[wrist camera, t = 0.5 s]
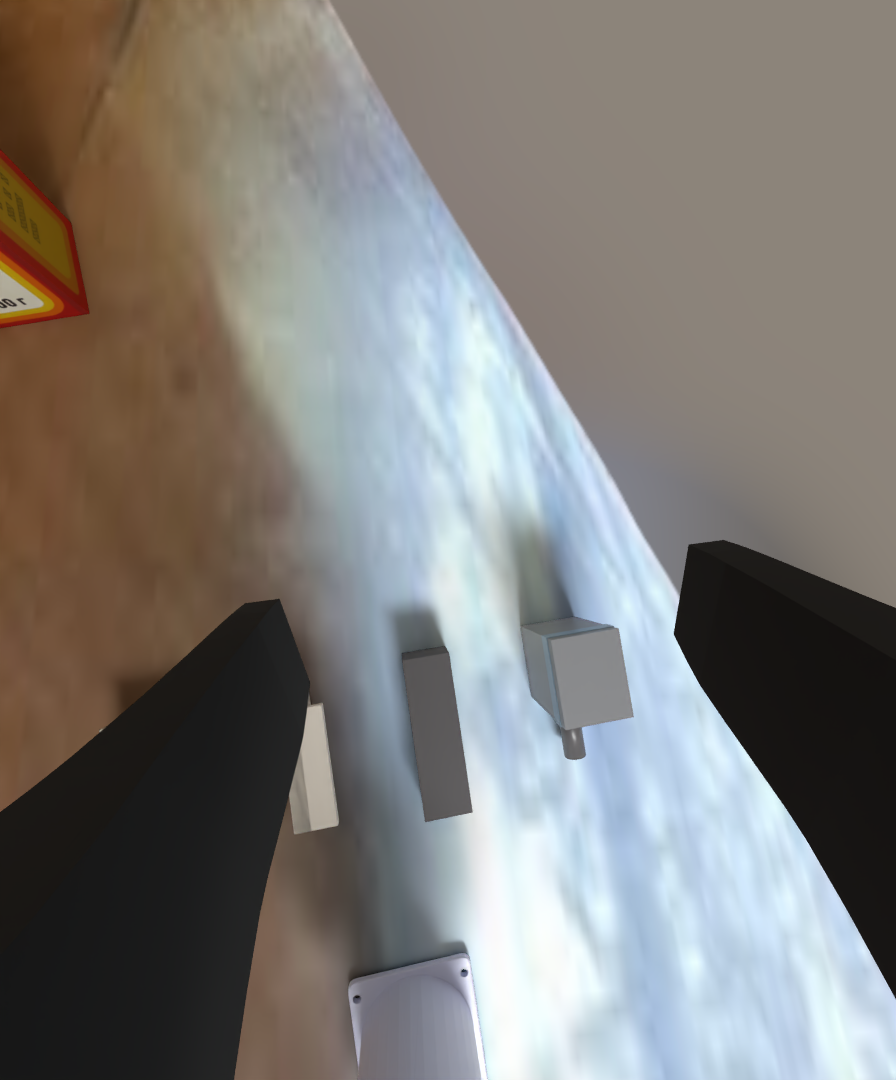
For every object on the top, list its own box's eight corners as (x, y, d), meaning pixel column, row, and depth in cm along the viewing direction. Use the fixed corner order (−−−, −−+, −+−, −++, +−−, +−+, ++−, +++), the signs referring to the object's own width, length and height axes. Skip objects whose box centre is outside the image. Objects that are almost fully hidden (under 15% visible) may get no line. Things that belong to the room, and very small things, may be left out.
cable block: (466, 790, 32) (472, 812, 29) (423, 798, 32) (425, 822, 29) (444, 645, 33) (448, 652, 30) (402, 652, 33) (402, 660, 30)
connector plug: (595, 741, 33) (646, 787, 26) (539, 752, 33) (576, 801, 26) (574, 615, 34) (619, 627, 27) (519, 625, 33) (549, 639, 26)
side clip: (346, 793, 31) (337, 825, 27) (277, 807, 31) (258, 842, 27) (331, 688, 32) (321, 705, 28) (263, 700, 31) (242, 719, 27)
